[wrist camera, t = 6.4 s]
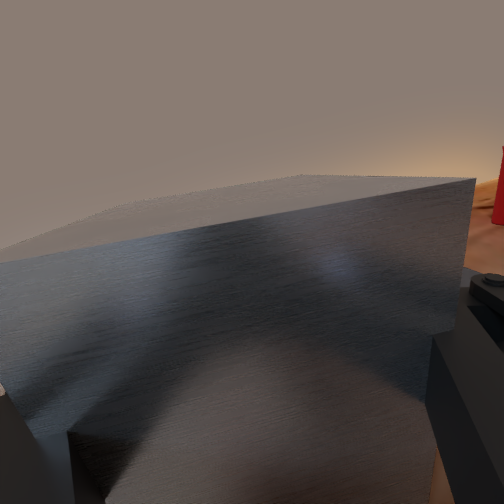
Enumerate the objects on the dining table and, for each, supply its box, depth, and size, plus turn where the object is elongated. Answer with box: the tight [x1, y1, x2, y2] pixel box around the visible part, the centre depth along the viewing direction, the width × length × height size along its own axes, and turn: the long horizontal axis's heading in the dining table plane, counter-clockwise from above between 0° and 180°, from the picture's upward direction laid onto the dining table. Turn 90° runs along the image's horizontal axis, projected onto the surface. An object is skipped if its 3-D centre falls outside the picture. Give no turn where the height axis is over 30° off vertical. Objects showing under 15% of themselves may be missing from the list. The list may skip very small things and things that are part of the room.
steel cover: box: [0, 175, 476, 504], centre depth 11 cm, size 10×10×12 cm
